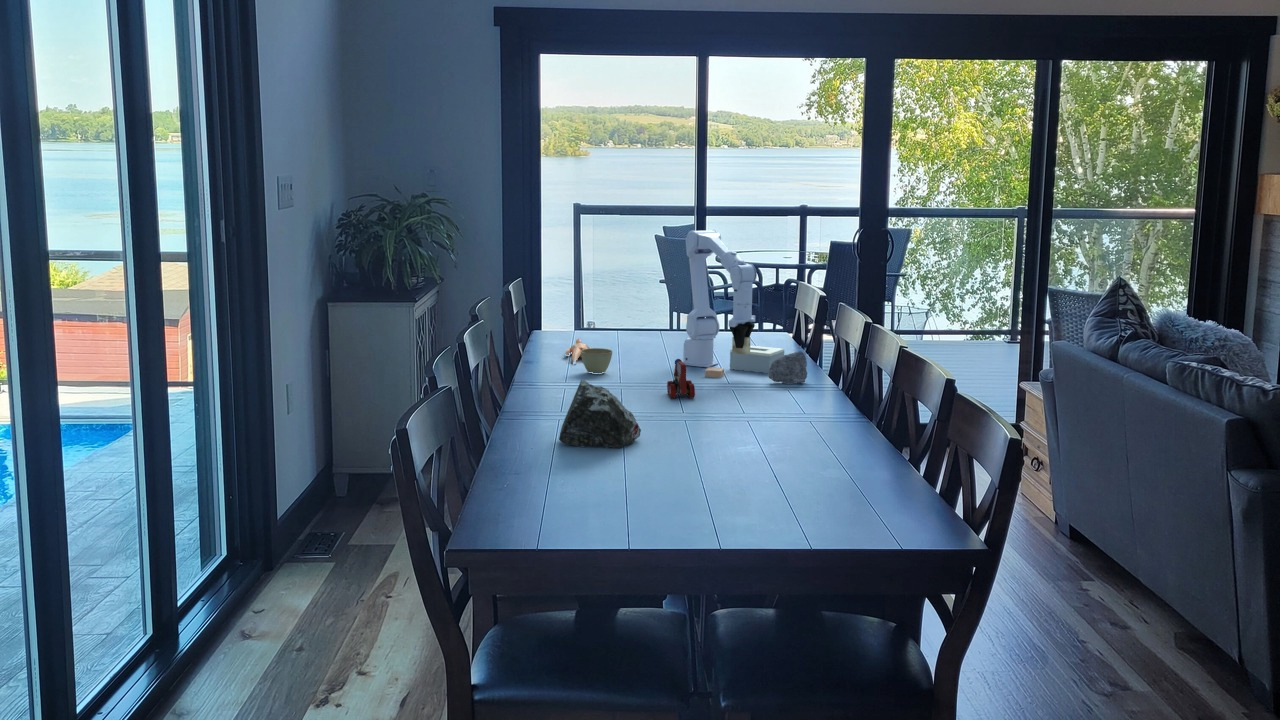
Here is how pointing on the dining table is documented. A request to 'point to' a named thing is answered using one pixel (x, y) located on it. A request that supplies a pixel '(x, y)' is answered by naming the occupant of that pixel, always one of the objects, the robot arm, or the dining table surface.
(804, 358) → the rock
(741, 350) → the block
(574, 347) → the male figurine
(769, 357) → the box
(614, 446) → the stone
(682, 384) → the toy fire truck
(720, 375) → the block
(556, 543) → the dining table surface
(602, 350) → the flower pot
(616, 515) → the dining table surface
